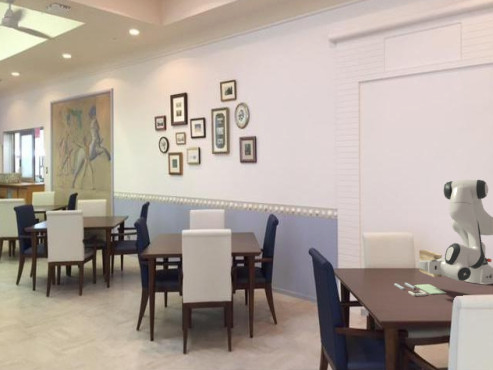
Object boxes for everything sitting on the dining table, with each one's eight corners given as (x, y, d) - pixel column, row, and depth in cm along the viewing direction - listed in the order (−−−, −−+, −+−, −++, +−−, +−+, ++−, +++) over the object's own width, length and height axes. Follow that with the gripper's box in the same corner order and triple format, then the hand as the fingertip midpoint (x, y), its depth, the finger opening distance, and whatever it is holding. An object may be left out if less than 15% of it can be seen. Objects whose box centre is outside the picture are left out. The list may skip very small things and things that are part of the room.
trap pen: (421, 292, 228) (421, 290, 228) (427, 295, 222) (427, 293, 222) (408, 292, 227) (408, 291, 227) (414, 296, 221) (414, 294, 221)
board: (426, 270, 239) (426, 250, 239) (441, 276, 225) (441, 255, 225) (419, 271, 238) (419, 250, 238) (434, 277, 224) (434, 255, 224)
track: (406, 284, 243) (406, 282, 243) (415, 288, 234) (415, 287, 234) (394, 285, 242) (394, 283, 242) (402, 289, 233) (402, 287, 233)
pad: (428, 285, 241) (428, 284, 241) (446, 293, 225) (446, 292, 225) (414, 286, 240) (414, 285, 240) (430, 294, 224) (430, 293, 224)
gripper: (462, 259, 220) (446, 254, 234) (427, 261, 217) (412, 256, 231) (462, 271, 221) (445, 265, 234) (426, 273, 217) (412, 267, 231)
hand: (429, 260), depth 233 cm, fingers closed on board, 4 cm apart
